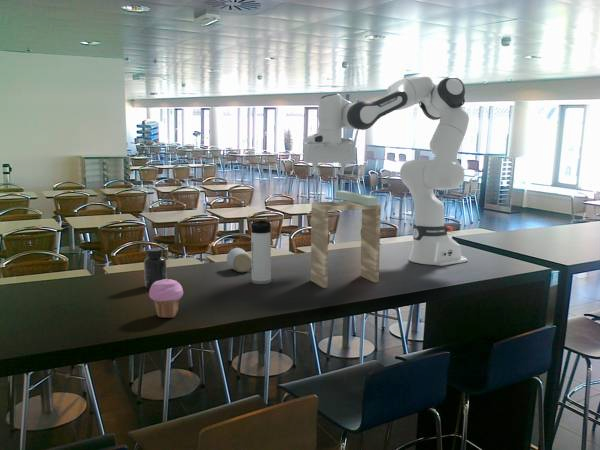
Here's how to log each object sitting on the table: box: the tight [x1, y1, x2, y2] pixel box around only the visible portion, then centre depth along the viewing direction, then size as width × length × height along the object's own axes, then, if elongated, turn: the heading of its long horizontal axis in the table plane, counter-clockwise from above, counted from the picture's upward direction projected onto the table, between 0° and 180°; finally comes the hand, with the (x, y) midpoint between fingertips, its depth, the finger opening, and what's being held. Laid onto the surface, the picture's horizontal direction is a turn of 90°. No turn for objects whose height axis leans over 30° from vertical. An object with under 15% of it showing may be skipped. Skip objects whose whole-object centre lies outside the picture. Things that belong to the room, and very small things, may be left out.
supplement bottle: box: [143, 247, 168, 290], centre depth 174 cm, size 7×7×12 cm
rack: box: [310, 200, 382, 289], centre depth 181 cm, size 20×10×26 cm, turn 111°
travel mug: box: [250, 219, 272, 285], centre depth 180 cm, size 6×7×20 cm
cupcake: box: [148, 278, 184, 319], centre depth 146 cm, size 9×9×10 cm
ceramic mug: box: [226, 247, 252, 273], centre depth 197 cm, size 11×8×8 cm
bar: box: [335, 190, 378, 206], centre depth 183 cm, size 3×24×2 cm, turn 21°
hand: (329, 174), depth 209 cm, fingers open, 8 cm apart
